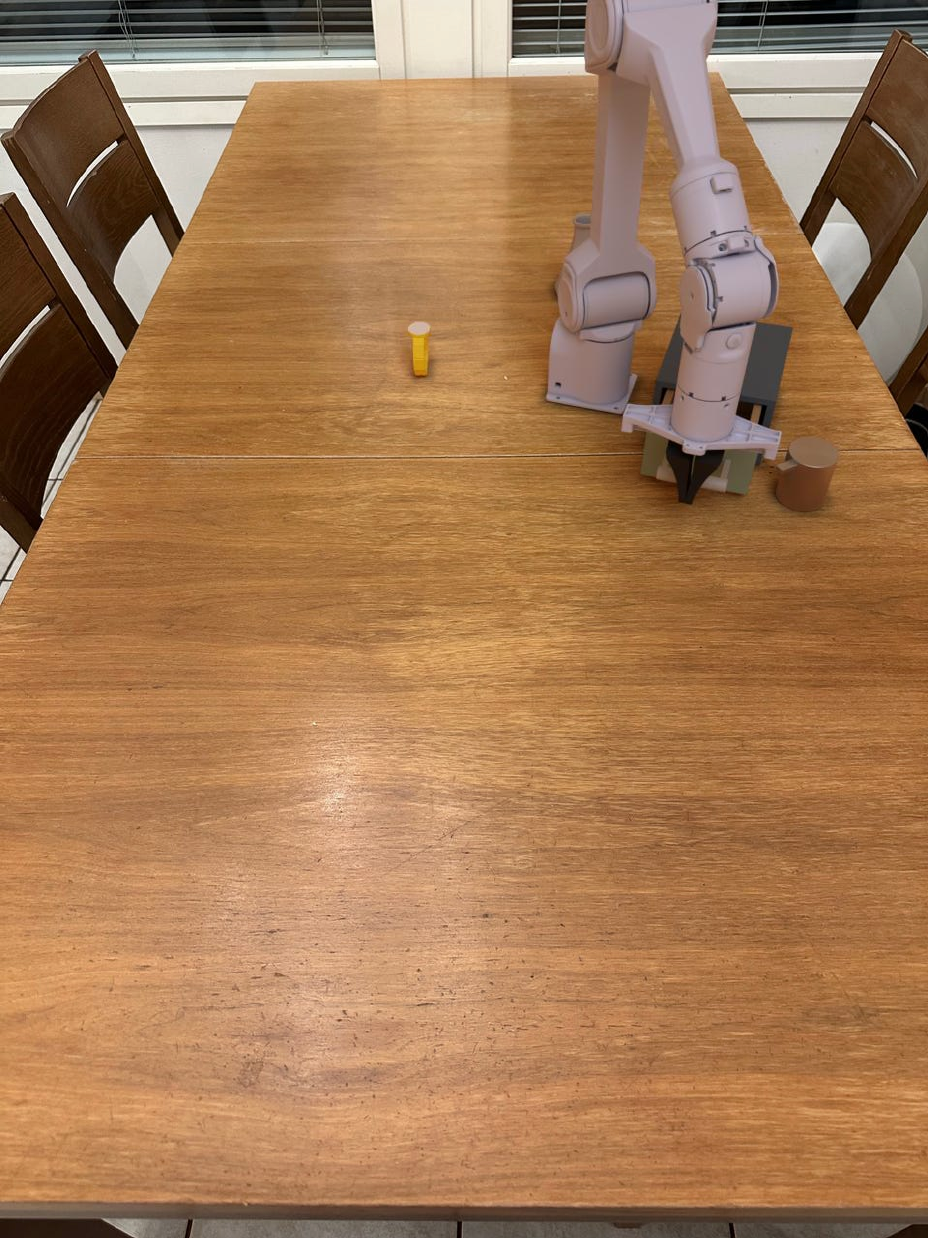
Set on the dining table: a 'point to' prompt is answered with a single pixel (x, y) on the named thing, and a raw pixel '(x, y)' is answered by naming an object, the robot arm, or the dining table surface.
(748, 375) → the cabinet
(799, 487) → the measuring cup
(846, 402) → the dining table surface
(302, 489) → the dining table surface
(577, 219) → the flask
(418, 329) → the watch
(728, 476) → the drawer
